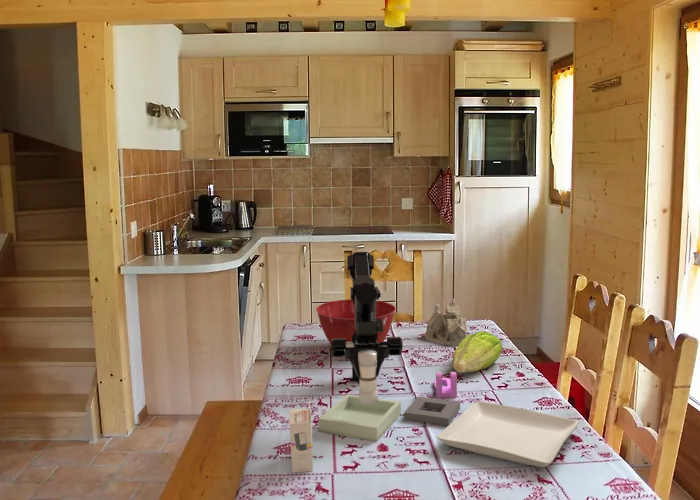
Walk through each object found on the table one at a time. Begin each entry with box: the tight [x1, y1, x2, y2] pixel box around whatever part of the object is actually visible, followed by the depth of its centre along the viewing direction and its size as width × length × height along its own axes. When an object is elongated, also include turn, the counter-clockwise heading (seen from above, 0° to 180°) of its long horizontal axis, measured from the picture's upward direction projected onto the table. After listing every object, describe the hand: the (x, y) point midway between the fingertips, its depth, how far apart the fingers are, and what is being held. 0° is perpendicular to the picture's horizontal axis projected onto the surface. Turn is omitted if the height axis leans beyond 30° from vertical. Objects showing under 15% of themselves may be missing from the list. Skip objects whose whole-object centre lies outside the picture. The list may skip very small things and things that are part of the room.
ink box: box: [289, 398, 314, 473], centre depth 152 cm, size 9×5×15 cm, turn 5°
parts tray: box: [318, 394, 402, 442], centre depth 175 cm, size 16×18×4 cm
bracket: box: [433, 371, 458, 398], centre depth 198 cm, size 13×6×7 cm, turn 178°
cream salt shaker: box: [358, 350, 379, 404], centre depth 172 cm, size 5×5×13 cm
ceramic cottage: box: [424, 298, 469, 347], centre depth 247 cm, size 16×16×15 cm
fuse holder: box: [403, 396, 461, 427], centre depth 180 cm, size 12×12×2 cm
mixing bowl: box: [315, 298, 397, 345], centre depth 238 cm, size 28×28×16 cm
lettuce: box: [452, 330, 503, 373], centre depth 215 cm, size 12×24×13 cm
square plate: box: [436, 401, 580, 468], centre depth 163 cm, size 27×27×4 cm
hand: (368, 376), depth 171 cm, fingers closed on cream salt shaker, 4 cm apart
